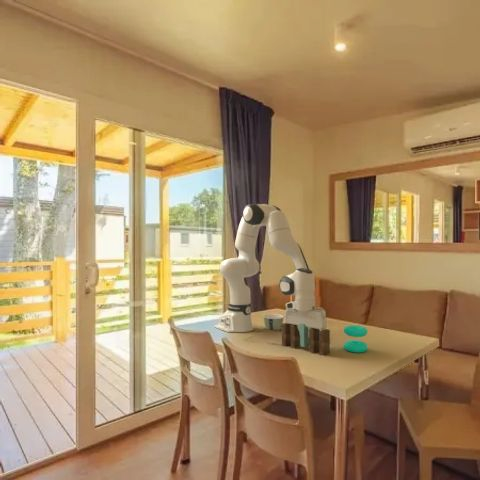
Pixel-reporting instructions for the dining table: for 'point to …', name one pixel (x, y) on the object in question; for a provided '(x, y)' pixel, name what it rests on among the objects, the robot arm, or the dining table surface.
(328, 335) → the domino
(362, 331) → the donuts
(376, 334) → the dining table surface
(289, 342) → the domino
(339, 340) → the dining table surface
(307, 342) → the domino
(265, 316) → the food container
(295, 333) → the domino
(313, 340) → the domino
